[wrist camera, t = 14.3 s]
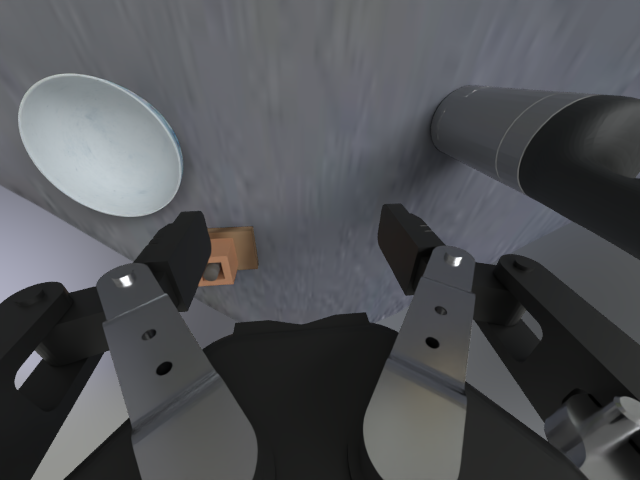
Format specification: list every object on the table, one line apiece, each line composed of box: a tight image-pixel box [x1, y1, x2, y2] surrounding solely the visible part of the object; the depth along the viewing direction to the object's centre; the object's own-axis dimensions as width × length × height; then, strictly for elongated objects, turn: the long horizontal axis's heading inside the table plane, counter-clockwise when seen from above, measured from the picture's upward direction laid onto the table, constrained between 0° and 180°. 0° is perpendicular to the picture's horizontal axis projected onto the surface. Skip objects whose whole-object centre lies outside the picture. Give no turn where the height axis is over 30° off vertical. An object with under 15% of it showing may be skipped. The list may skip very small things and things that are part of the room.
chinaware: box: [18, 74, 183, 217], centre depth 31 cm, size 15×15×8 cm
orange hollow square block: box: [198, 238, 238, 286], centre depth 41 cm, size 6×6×5 cm
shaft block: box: [203, 226, 259, 281], centre depth 42 cm, size 12×8×8 cm, turn 89°
